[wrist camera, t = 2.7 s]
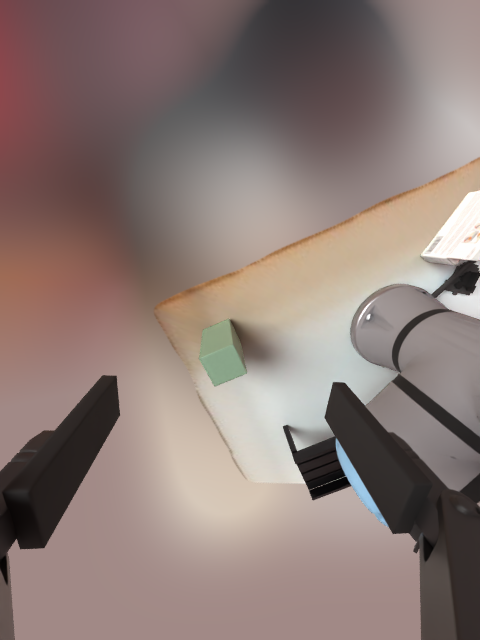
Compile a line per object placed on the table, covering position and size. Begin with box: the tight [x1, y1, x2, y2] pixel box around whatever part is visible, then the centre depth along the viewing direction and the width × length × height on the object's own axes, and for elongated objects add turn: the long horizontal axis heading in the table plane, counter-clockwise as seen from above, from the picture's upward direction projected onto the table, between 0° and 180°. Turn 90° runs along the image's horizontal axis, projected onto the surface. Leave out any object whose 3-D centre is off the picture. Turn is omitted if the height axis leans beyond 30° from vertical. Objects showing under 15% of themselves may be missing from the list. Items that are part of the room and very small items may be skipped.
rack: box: [283, 425, 351, 500], centre depth 48 cm, size 12×12×9 cm
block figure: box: [445, 262, 480, 295], centre depth 41 cm, size 6×2×6 cm
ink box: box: [420, 191, 480, 265], centre depth 34 cm, size 2×11×10 cm, turn 150°
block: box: [199, 319, 247, 386], centre depth 37 cm, size 5×5×10 cm
